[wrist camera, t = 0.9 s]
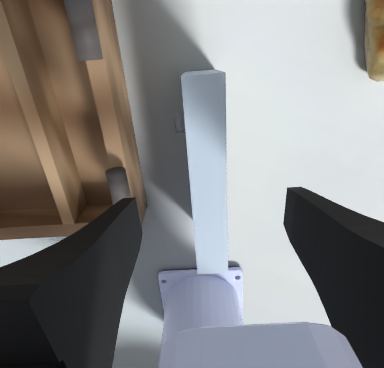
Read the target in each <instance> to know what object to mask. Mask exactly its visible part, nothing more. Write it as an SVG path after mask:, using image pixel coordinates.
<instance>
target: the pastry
mask: <svg viewBox="0 0 384 368" xmlns="http://www.w3.org/2000/svg"><path fill="white" fill-rule="evenodd" d="M365 2H366V11H365V32H364V51H365V61H366V69H367V72H368V76H369V78H370V79H372V80H374V81H384V0H365Z"/></svg>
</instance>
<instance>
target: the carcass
mask: <svg viewBox="0 0 384 368" xmlns="http://www.w3.org/2000/svg"><path fill="white" fill-rule="evenodd" d="M133 197H136V202H137V207H138V212H139V218H140V223H141V224H142V221H143V218H144V215H145V211H146V208H147V203H146V197H145V192H144V186H143V180H142V174H141V169H140V163H139V157H138V151H137V146H136V140H135V134H134V128H133V123H132V117H131V111H130V105H129V100H128V94H127V88H126V82H125V76H124V71H123V65H122V59H121V53H120V48H119V42H118V36H117V30H116V25H115V19H114V13H113V7H112V2H111V0H0V240H7V239H24V238H41V237H58V236H70V235H72V234H73V233H75V232H76V231H78V230H80V229H81V228H82V227H84V226H85V225H87V224H88V223H90V222H91V221H93V220H94V219H95V218H97V217H98V216H99V215H101V214H102V213H103V212H105V211H106V210H107V209H109V208H110V207H111V206H113V205H114V204H115V203H117V202H118V201H119V200H121V199H123V198H133Z"/></svg>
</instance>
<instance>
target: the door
mask: <svg viewBox="0 0 384 368" xmlns="http://www.w3.org/2000/svg"><path fill="white" fill-rule="evenodd" d="M181 85H182V96H183V108H184V113H183V114H175V128H176V132H186V144H187V156H188V167H189V179H190V191H191V203H192V215H193V227H194V238H195V250H196V262H197V274H217V273H228V228H227V156H226V83H225V72H222V71H218V70H202V71H190V72H184V73H183V74H182V75H181Z"/></svg>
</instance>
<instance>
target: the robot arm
mask: <svg viewBox="0 0 384 368" xmlns="http://www.w3.org/2000/svg"><path fill="white" fill-rule="evenodd" d="M284 227H285V230H286V232H287V235H288V238H289V240H290V242H291V244H292V246H293V248H294V250H295V252H296V253H297V255H298V257H299V259H300V261H301V262H302V264H303V266H304V268H305V269H306V271H307V273H308V275H309V276H310V278H311V280H312V282H313V284H314V286H315V288H316V290H317V292H318V294H319V297H320V299H321V301H322V304H323V306H324V308H325V311H326V313H327V316H328V318H329V321H330V323H331V326H332V327H331V326H328V325H324V324H316V323H309V322H293V323H271V324H249V325H244V324H243V319H242V299H243V271H242V269H241V268H240V267H230V268H228V273H217V274H197V269H192V270H173V271H161V272H159V274H158V280H159V286H160V292H161V297H162V303H163V309H164V314H165V315H164V324H163V334H162V343H161V350H160V355H159V360H158V368H384V222H381V221H378V220H375V219H373V218H370V217H367V216H364V215H362V214H359V213H357V212H355V211H352V210H350V209H348V208H345V207H343V206H341V205H339V204H337V203H334V202H332V201H330V200H328V199H326V198H324V197H322V196H320V195H318V194H316V193H314V192H312V191H309V190H307V189H305V188H302V187H291V188H287V195H286V204H285V214H284ZM141 238H142V228H141V223H140V218H139V212H138V207H137V202H136V197H133V198H123V199H121V200H119V201H118V202H117V203H115V204H114V205H113V206H111V207H110V208H109V209H107V210H106V211H105V212H103V213H102V214H101V215H99V216H98V217H97V218H95V219H94V220H93V221H91V222H90V223H88V224H87V225H85V226H84V227H82V228H81V229H80V230H78V231H76V232H75V233H73V234H72V235H70V236H68V237H66V238H65V239H63V240H61V241H59V242H57V243H56V244H53V245H51V246H49V247H47V248H45V249H43V250H41V251H39V252H37V253H35V254H33V255H30V256H28V257H26V258H23V259H21V260H18V261H16V262H13V263H11V264H8V265H5V266H3V267H0V368H112V363H113V357H114V351H115V345H116V339H117V334H118V328H119V323H120V318H121V313H122V308H123V303H124V298H125V295H126V291H127V288H128V285H129V282H130V278H131V275H132V272H133V269H134V266H135V263H136V260H137V256H138V253H139V250H140V244H141ZM236 276H238V277H236Z"/></svg>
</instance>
